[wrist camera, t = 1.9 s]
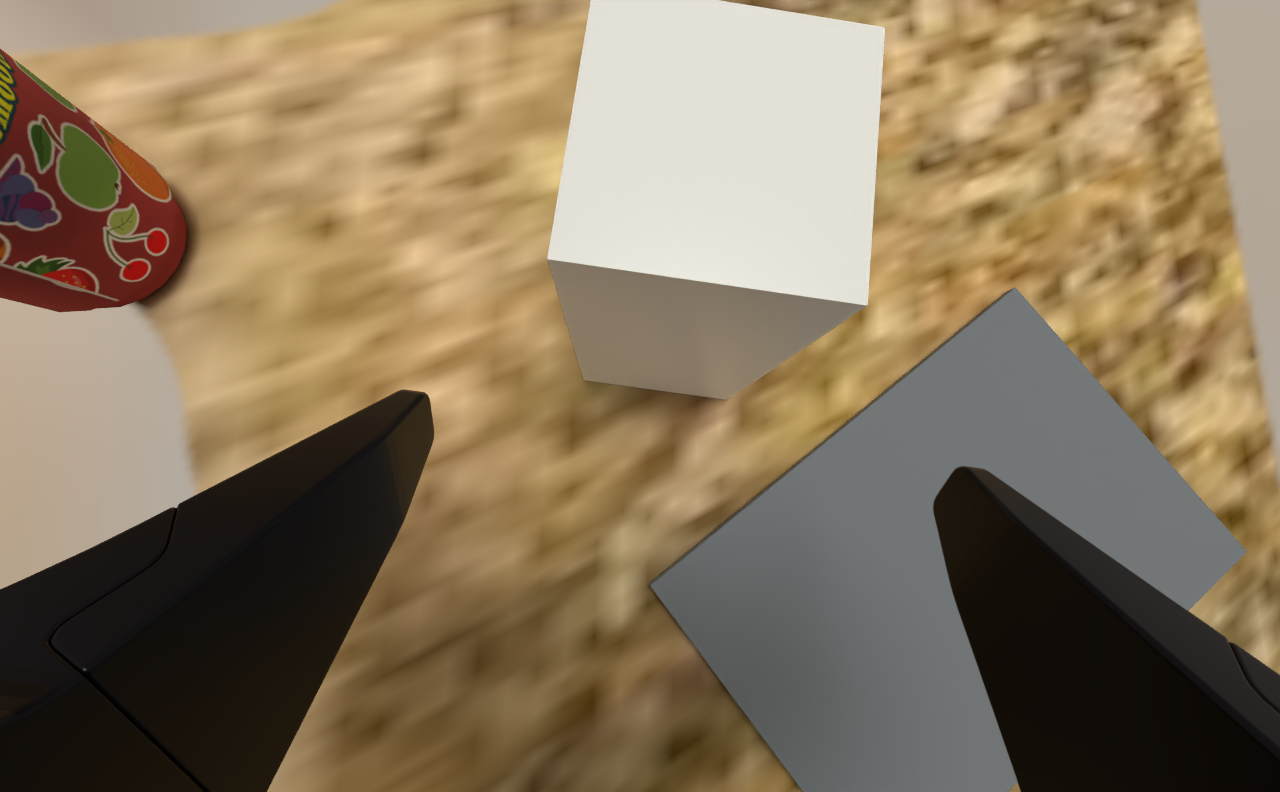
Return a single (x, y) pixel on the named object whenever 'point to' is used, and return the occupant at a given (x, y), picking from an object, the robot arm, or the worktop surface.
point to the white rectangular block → (714, 190)
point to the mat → (923, 558)
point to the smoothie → (77, 206)
